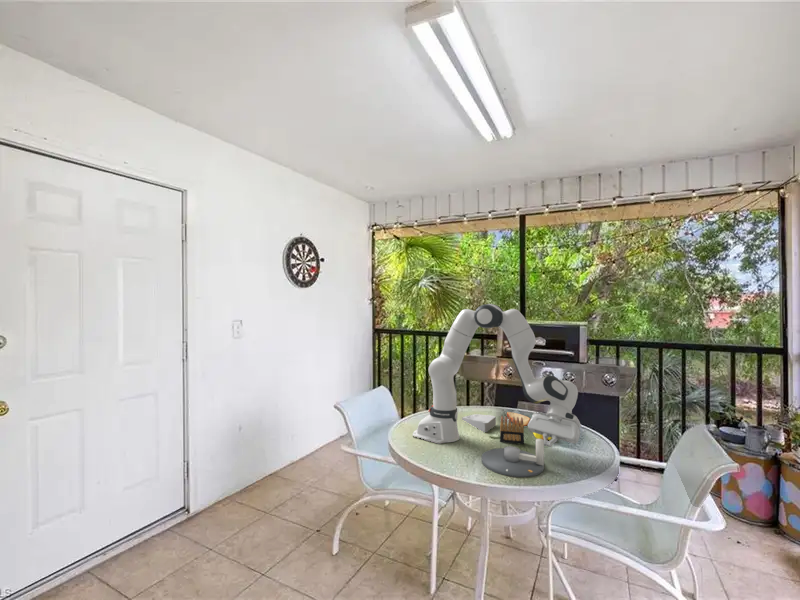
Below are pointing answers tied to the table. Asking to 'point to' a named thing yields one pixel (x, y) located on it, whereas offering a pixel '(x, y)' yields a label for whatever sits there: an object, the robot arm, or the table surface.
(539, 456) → the dial lever
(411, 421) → the table surface
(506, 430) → the ammunition clip
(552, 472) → the table surface
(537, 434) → the yellow faceted oblong piece
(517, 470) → the dial plate
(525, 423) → the bread slice
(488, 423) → the ramp
